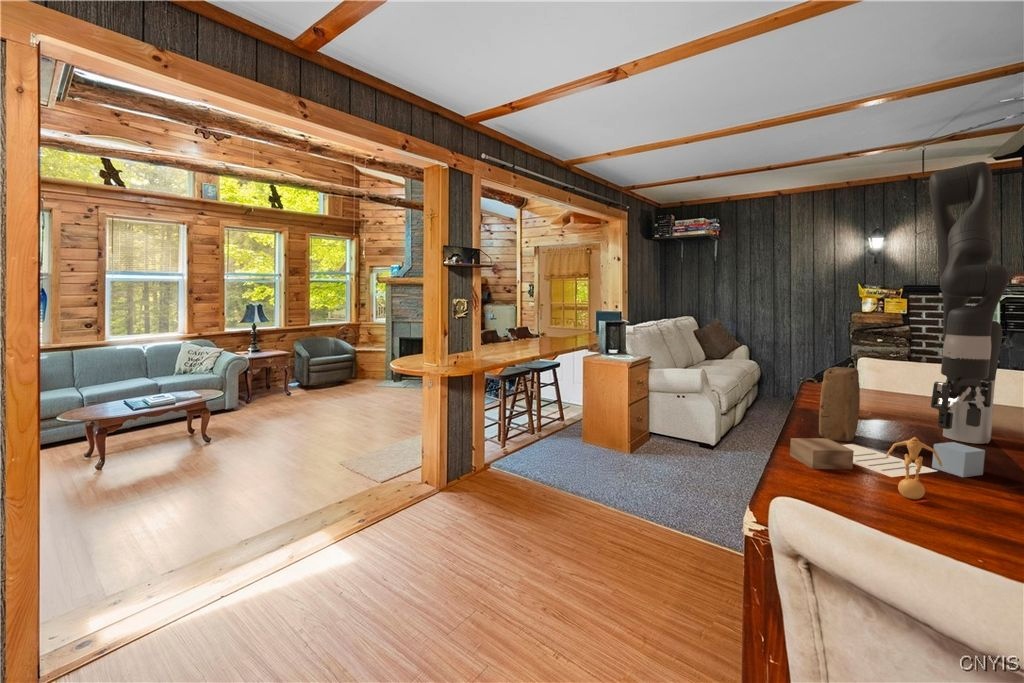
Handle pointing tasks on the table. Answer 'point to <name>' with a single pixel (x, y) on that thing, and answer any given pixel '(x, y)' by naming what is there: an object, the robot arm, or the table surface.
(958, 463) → the slate cube
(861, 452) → the letter
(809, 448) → the walnut block
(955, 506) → the table surface
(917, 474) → the figurine
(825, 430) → the block
